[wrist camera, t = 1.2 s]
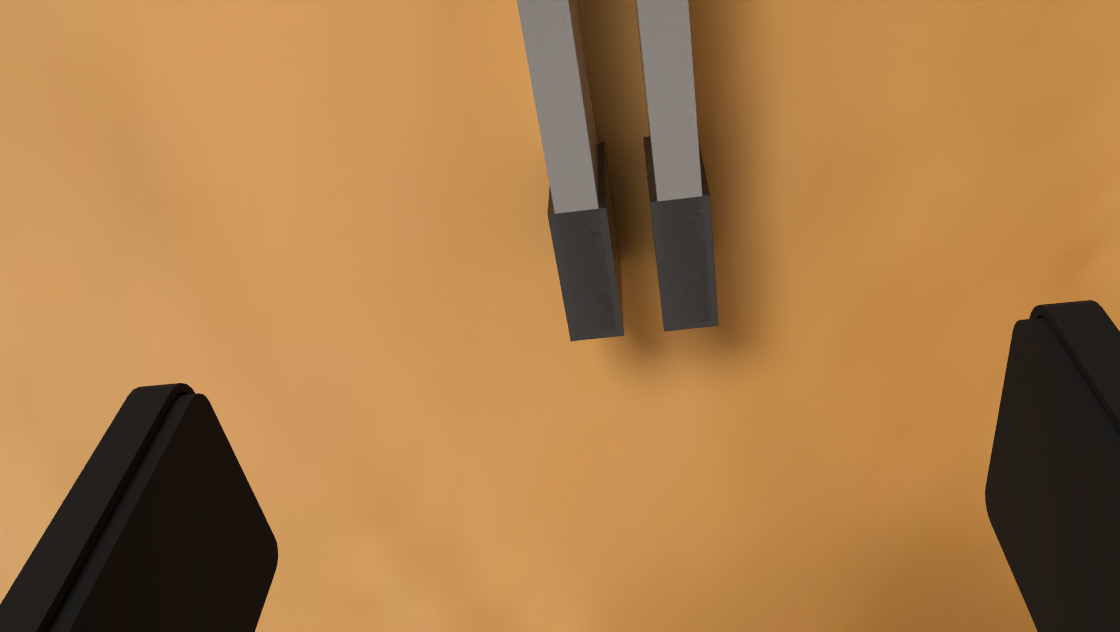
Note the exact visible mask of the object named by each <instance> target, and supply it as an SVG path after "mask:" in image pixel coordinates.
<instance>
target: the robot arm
mask: <svg viewBox="0 0 1120 632" xmlns="http://www.w3.org/2000/svg"><path fill="white" fill-rule="evenodd" d="M985 500H986V507H987V512H988V516H989V519H990V522H991V524H992V527H993V529H994V531H995V534H996V536H997V538H998V541H999V543H1000V545H1001V548H1002V550H1003V552H1004V554H1005V557H1006V559H1007V561H1008V564H1009V566H1010V568H1011V571H1012V573H1013V575H1014V578H1015V580H1016V582H1017V585H1018V587H1019V589H1020V591H1021V594H1022V596H1023V598H1024V601H1025V603H1026V605H1027V608H1028V610H1029V612H1030V615H1031V617H1032V619H1033V622H1034V624H1035V626H1036V629H1037V631H1038V632H1120V331H1119V330H1118V329H1117V327H1116V326H1115V325H1114V323H1113V322H1112V320H1111V319H1110V318H1109V316H1108V315H1107V314H1106V312H1105V311H1104V310H1103V308H1102V307H1101V306H1100V305H1099V304H1098V303H1097V302H1095V301H1092V300H1089V301H1078V302H1067V303H1056V304H1045V305H1038V306H1036V307H1034V309H1033V310H1032V312H1031V315H1030V318H1029V319H1026V320H1019V321H1017V322H1016V324H1015V325H1014V329H1013V333H1012V339H1011V345H1010V351H1009V356H1008V362H1007V368H1006V373H1005V379H1004V385H1003V391H1002V396H1001V402H1000V408H999V414H998V419H997V425H996V431H995V437H994V442H993V448H992V454H991V460H990V465H989V471H988V477H987V483H986V490H985ZM277 562H278V548H277V542H276V539H275V537H274V535H273V533H272V531H271V528H270V526H269V524H268V522H267V520H266V518H265V516H264V514H263V512H262V510H261V508H260V506H259V504H258V501H257V499H256V497H255V495H254V493H253V491H252V489H251V487H250V485H249V483H248V481H247V479H246V477H245V474H244V472H243V470H242V468H241V466H240V464H239V462H238V460H237V458H236V456H235V454H234V452H233V450H232V447H231V445H230V443H229V441H228V439H227V437H226V435H225V433H224V431H223V429H222V427H221V425H220V423H219V420H218V418H217V416H216V414H215V412H214V410H213V408H212V406H211V404H210V402H209V400H208V399H207V397H206V396H204V395H203V394H195V392H194V391H193V389H192V388H191V387H190V386H188V385H187V384H183V383H177V384H166V385H155V386H144V387H138V388H136V389H134V390H133V391H132V392H131V393H130V394H129V395H128V397H127V398H126V400H125V402H124V403H123V405H122V407H121V408H120V410H119V411H118V413H117V415H116V416H115V418H114V420H113V421H112V423H111V425H110V426H109V428H108V429H107V431H106V433H105V434H104V436H103V438H102V439H101V441H100V443H99V444H98V446H97V447H96V449H95V451H94V452H93V454H92V456H91V457H90V459H89V461H88V462H87V464H86V465H85V467H84V469H83V470H82V472H81V474H80V475H79V477H78V478H77V480H76V482H75V483H74V485H73V487H72V488H71V490H70V492H69V493H68V495H67V496H66V498H65V500H64V501H63V503H62V505H61V506H60V508H59V510H58V511H57V513H56V514H55V516H54V518H53V519H52V521H51V523H50V524H49V526H48V528H47V529H46V531H45V532H44V534H43V536H42V537H41V539H40V541H39V542H38V544H37V545H36V547H35V549H34V550H33V552H32V554H31V555H30V557H29V559H28V560H27V562H26V563H25V565H24V567H23V568H22V570H21V572H20V573H19V575H18V577H17V578H16V580H15V581H14V583H13V585H12V586H11V588H10V590H9V591H8V593H7V595H6V596H5V598H4V599H3V601H2V603H1V604H0V632H255V629H256V626H257V623H258V620H259V618H260V615H261V612H262V609H263V606H264V603H265V600H266V597H267V594H268V591H269V588H270V586H271V583H272V580H273V577H274V574H275V571H276V567H277Z"/></svg>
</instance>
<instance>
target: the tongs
mask: <svg viewBox="0 0 1120 632" xmlns="http://www.w3.org/2000/svg"><path fill="white" fill-rule="evenodd" d="M517 4H518V9H519V15H520V20H521V26H522V32H523V37H524V43H525V49H526V54H527V60H528V65H529V71H530V77H531V82H532V88H533V93H534V99H535V105H536V110H537V116H538V122H539V127H540V133H541V138H542V144H543V150H544V155H545V161H546V167H547V172H548V178H549V183H550V189H549V203H548V219H549V225H550V230H551V236H552V241H553V246H554V252H555V257H556V263H557V268H558V274H559V279H560V285H561V290H562V296H563V301H564V306H565V312H566V317H567V323H568V328H569V334H570V339H571V341H577V340H586V339H596V338H605V337H615V336H624V326H623V305H622V284H621V263H620V255H619V248H618V241H617V233H616V226H615V219H614V211H613V204H612V197H611V189H610V182H609V174H608V167H607V160H606V152H605V145H604V143H598V142H597V135H596V128H595V121H594V114H593V107H592V99H591V92H590V85H589V78H588V71H587V64H586V57H585V50H584V42H583V35H582V28H581V21H580V14H579V7H578V0H517ZM636 8H637V17H638V27H639V37H640V46H641V56H642V65H643V75H644V85H645V94H646V104H647V113H648V123H649V132H650V137H643V139H644V148H645V158H646V168H647V177H648V187H649V196H650V206H651V215H652V224H653V233H654V243H655V252H656V261H657V270H658V279H659V288H660V298H661V307H662V316H663V325H664V331H672V330H682V329H691V328H701V327H711V326H718V311H717V296H716V281H715V266H714V251H713V236H712V221H711V206H710V194H709V189H708V184H707V180H706V175H705V170H704V165H703V161H702V156H701V151H700V146H699V142H698V130H697V116H696V102H695V88H694V74H693V60H692V46H691V32H690V18H689V4H688V0H636Z"/></svg>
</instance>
